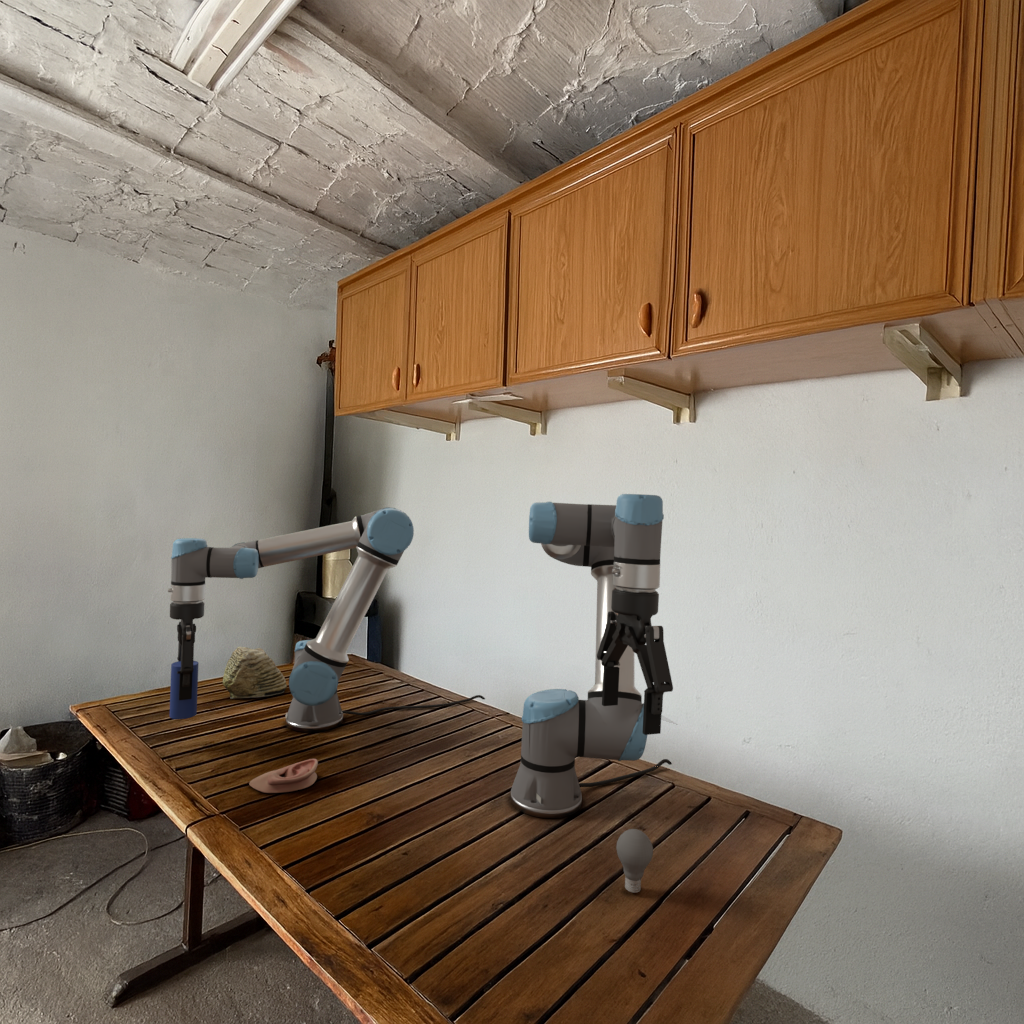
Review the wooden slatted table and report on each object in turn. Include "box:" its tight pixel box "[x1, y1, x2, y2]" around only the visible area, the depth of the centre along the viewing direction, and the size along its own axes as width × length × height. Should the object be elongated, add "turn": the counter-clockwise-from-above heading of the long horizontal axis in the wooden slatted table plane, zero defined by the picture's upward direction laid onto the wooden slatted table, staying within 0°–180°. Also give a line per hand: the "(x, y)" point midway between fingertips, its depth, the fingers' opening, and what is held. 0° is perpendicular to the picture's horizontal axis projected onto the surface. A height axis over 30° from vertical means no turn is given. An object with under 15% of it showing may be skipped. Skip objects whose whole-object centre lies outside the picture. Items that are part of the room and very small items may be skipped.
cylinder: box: [169, 660, 199, 720], centre depth 156 cm, size 6×6×13 cm
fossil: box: [222, 646, 288, 699], centre depth 198 cm, size 9×18×15 cm, turn 132°
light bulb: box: [615, 828, 654, 894], centre depth 106 cm, size 6×6×10 cm
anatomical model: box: [248, 758, 319, 794], centre depth 139 cm, size 13×4×12 cm
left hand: (184, 695), depth 156 cm, fingers closed on cylinder, 6 cm apart
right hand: (629, 718), depth 103 cm, fingers open, 13 cm apart
